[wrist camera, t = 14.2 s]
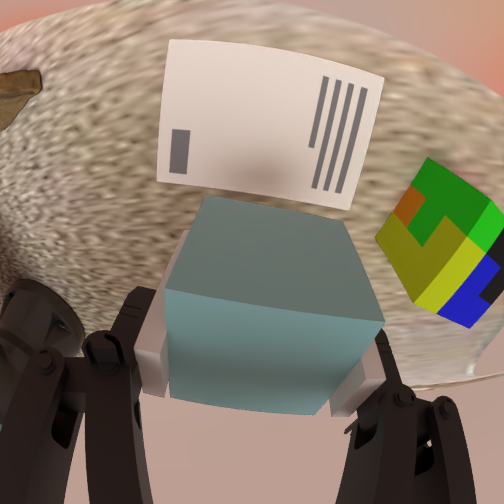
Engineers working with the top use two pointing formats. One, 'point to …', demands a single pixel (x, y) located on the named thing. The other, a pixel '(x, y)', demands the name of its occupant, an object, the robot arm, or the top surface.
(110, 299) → the top surface
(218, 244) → the teal cube
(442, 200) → the puzzle toy
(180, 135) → the letter
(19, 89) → the rock
